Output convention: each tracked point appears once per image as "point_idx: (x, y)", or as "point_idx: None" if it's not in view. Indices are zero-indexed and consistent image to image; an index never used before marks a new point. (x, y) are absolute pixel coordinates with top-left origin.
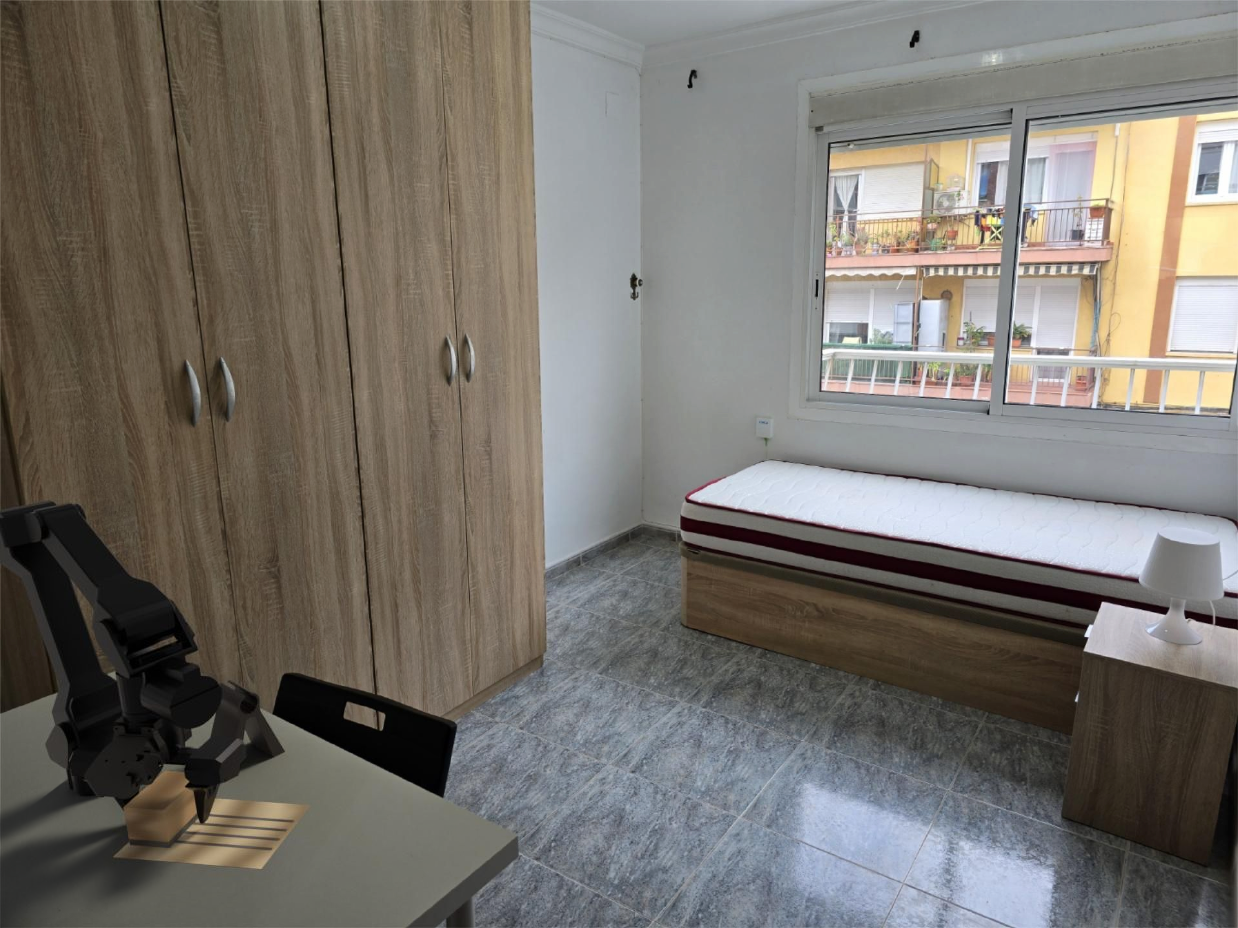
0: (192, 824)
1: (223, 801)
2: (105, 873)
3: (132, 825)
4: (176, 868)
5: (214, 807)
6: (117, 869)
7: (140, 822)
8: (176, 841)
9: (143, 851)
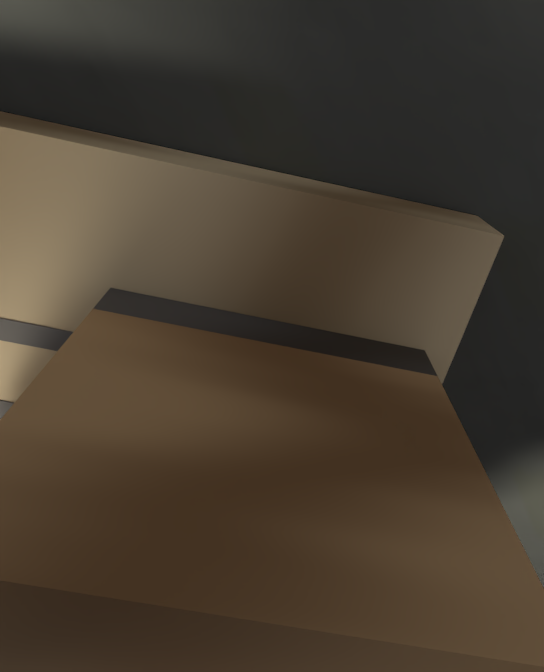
0: None
1: None
2: (516, 142)
3: (415, 446)
4: None
5: None
6: (444, 176)
7: (325, 459)
8: None
9: (290, 269)
